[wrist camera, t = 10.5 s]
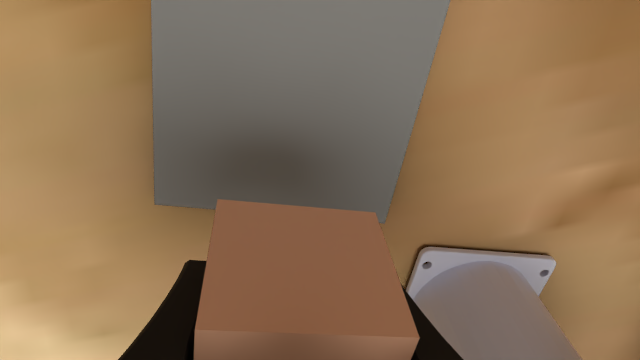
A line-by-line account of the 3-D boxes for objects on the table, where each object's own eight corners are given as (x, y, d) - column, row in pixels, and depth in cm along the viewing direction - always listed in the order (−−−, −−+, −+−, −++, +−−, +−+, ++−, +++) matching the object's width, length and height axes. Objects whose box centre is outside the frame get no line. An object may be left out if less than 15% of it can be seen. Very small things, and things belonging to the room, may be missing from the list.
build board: (381, 216, 23) (384, 223, 22) (157, 197, 21) (154, 204, 21) (529, -295, 14) (539, -304, 13) (149, -410, 12) (143, -424, 11)
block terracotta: (345, 320, 15) (370, 458, 12) (210, 315, 15) (189, 460, 11) (375, 212, 13) (419, 337, 9) (217, 199, 12) (195, 329, 9)
